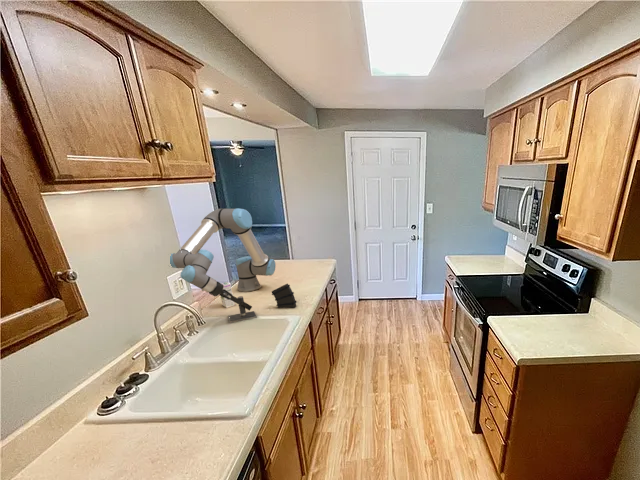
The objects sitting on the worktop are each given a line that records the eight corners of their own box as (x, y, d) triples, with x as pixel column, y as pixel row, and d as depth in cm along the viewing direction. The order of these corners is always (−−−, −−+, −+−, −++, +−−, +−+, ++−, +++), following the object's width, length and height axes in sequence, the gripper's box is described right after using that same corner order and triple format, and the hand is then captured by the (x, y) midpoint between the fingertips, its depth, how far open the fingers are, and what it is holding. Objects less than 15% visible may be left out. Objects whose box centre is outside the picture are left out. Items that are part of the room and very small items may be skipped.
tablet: (228, 317, 189) (227, 315, 188) (254, 312, 195) (253, 310, 195) (229, 323, 182) (229, 321, 181) (256, 317, 188) (256, 315, 188)
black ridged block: (299, 305, 201) (286, 284, 196) (281, 314, 203) (267, 293, 199) (301, 303, 205) (288, 282, 200) (283, 311, 207) (270, 291, 202)
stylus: (240, 314, 189) (236, 296, 185) (246, 313, 190) (242, 295, 186) (240, 316, 186) (237, 298, 183) (246, 315, 188) (243, 297, 184)
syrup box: (235, 305, 206) (231, 283, 201) (225, 308, 202) (221, 285, 197) (231, 303, 210) (227, 281, 205) (222, 305, 206) (217, 283, 201)
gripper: (203, 289, 177) (240, 309, 194) (213, 296, 167) (251, 317, 184) (211, 278, 179) (247, 298, 196) (222, 284, 168) (259, 305, 185)
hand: (249, 307), depth 190 cm, fingers closed on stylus, 3 cm apart
